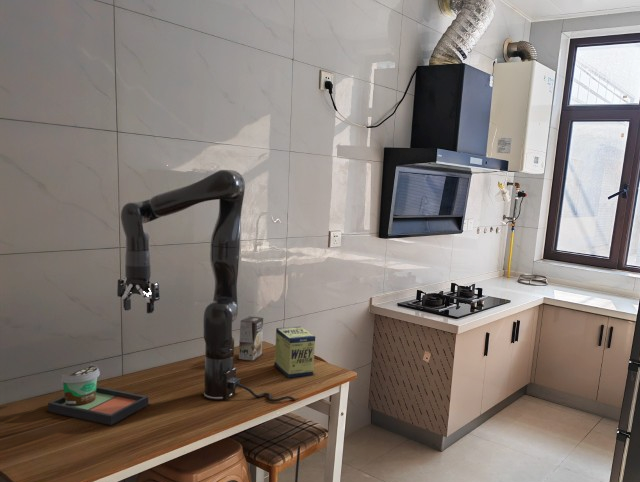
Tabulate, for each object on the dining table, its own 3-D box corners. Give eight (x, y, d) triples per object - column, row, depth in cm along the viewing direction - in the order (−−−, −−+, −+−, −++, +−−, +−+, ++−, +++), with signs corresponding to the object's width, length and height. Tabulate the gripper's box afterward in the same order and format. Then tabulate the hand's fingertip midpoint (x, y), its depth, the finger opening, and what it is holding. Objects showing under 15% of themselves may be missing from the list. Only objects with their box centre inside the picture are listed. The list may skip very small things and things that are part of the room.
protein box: (288, 378, 207) (290, 338, 204) (273, 364, 220) (275, 327, 217) (313, 375, 213) (316, 336, 210) (298, 362, 225) (300, 325, 223)
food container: (79, 410, 163) (79, 379, 161) (61, 407, 164) (61, 375, 163) (109, 395, 175) (108, 366, 173) (92, 392, 176) (91, 363, 175)
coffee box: (253, 361, 222) (254, 322, 219) (238, 359, 223) (239, 320, 220) (262, 354, 231) (263, 317, 228) (247, 352, 232) (249, 315, 229)
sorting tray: (148, 404, 174) (148, 396, 174) (111, 425, 159) (110, 416, 158) (89, 392, 179) (89, 384, 178) (48, 411, 164) (47, 402, 163)
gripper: (164, 264, 182) (164, 311, 185) (127, 259, 185) (128, 306, 188) (149, 267, 175) (149, 316, 178) (110, 262, 178) (112, 311, 181)
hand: (138, 311), depth 183 cm, fingers open, 8 cm apart
